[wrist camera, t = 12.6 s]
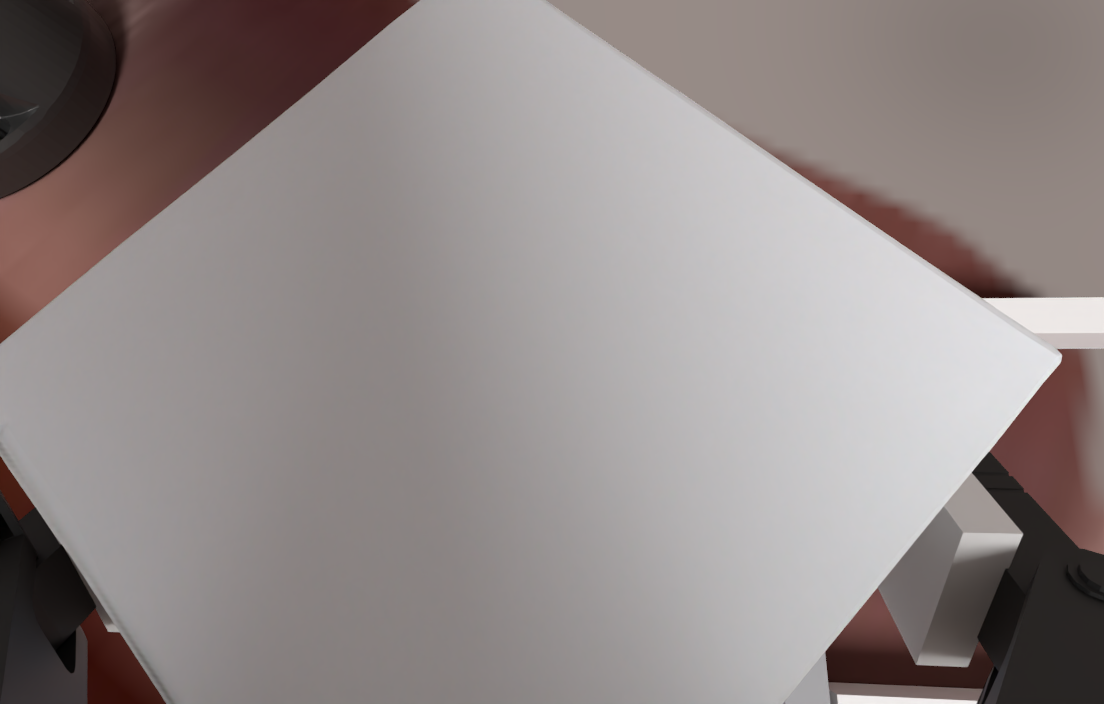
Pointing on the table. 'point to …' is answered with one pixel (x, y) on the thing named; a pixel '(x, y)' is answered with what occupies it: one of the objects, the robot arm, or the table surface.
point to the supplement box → (500, 393)
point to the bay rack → (1064, 329)
